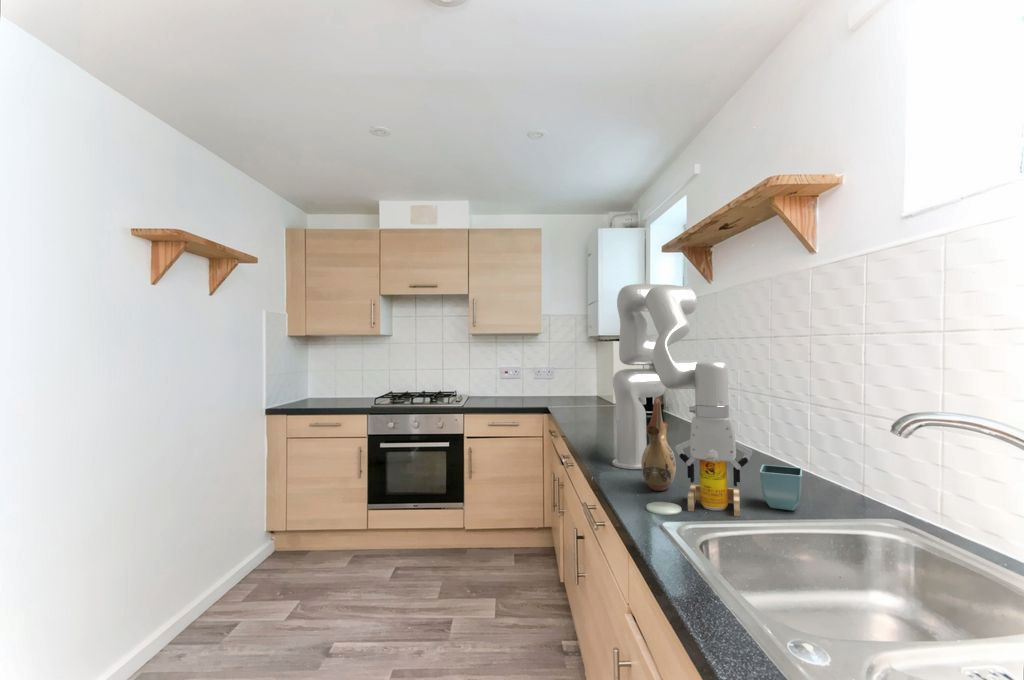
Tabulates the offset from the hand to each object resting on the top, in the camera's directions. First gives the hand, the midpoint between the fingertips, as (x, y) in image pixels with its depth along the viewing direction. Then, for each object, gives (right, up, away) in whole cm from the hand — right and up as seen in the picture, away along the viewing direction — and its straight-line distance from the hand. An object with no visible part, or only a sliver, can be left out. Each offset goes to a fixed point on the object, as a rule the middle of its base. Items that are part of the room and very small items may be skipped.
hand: (713, 483), depth 120 cm
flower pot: (+16, -6, -1) cm, 17 cm away
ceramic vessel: (-8, -6, +16) cm, 19 cm away
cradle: (0, -6, 0) cm, 6 cm away
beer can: (0, -6, 0) cm, 6 cm away
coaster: (-12, -6, -1) cm, 14 cm away
